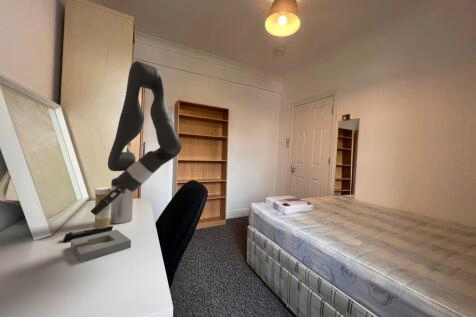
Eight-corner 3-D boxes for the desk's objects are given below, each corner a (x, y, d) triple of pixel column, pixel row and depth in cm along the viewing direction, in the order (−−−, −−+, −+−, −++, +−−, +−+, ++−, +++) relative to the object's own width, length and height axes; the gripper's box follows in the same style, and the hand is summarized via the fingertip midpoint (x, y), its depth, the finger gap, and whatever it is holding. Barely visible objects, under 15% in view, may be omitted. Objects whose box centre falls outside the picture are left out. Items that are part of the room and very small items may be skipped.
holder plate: (70, 247, 67) (70, 240, 67) (116, 235, 78) (116, 229, 78) (80, 262, 58) (80, 254, 58) (130, 247, 69) (130, 240, 69)
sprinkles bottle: (92, 226, 68) (93, 187, 68) (107, 223, 71) (108, 186, 71) (96, 230, 65) (97, 189, 65) (112, 226, 68) (113, 188, 68)
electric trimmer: (113, 234, 80) (113, 226, 80) (62, 243, 70) (62, 235, 70) (112, 231, 83) (112, 224, 83) (62, 240, 73) (63, 231, 73)
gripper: (131, 167, 77) (94, 199, 73) (123, 169, 64) (77, 209, 60) (146, 180, 79) (110, 212, 75) (141, 185, 66) (97, 225, 62)
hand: (96, 211), depth 67 cm, fingers closed on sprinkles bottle, 4 cm apart
